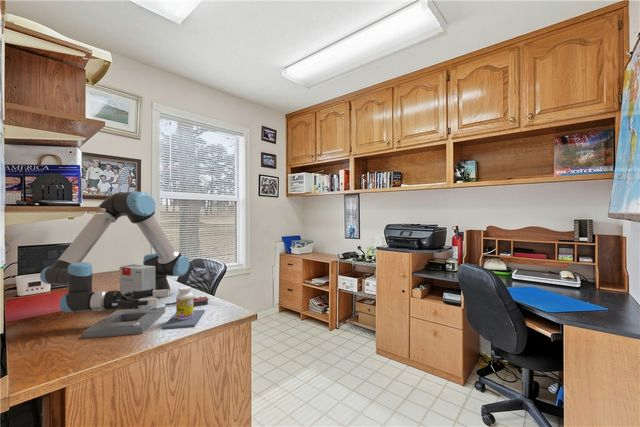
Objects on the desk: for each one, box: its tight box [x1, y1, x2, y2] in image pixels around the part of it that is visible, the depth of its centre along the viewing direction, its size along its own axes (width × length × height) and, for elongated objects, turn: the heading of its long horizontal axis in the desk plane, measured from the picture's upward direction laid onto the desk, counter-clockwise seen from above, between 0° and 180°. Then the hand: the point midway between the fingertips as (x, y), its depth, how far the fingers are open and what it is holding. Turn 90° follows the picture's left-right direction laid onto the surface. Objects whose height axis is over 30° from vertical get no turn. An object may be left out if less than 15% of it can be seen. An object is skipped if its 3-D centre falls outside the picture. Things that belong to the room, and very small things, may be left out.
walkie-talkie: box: [164, 295, 209, 308], centre depth 142 cm, size 9×4×20 cm
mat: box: [161, 309, 206, 330], centre depth 122 cm, size 18×12×1 cm, turn 10°
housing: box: [82, 305, 166, 339], centre depth 118 cm, size 24×20×4 cm
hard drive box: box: [119, 264, 156, 309], centre depth 141 cm, size 16×8×20 cm, turn 72°
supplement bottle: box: [175, 285, 194, 320], centre depth 122 cm, size 7×7×13 cm
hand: (163, 296), depth 120 cm, fingers open, 13 cm apart
